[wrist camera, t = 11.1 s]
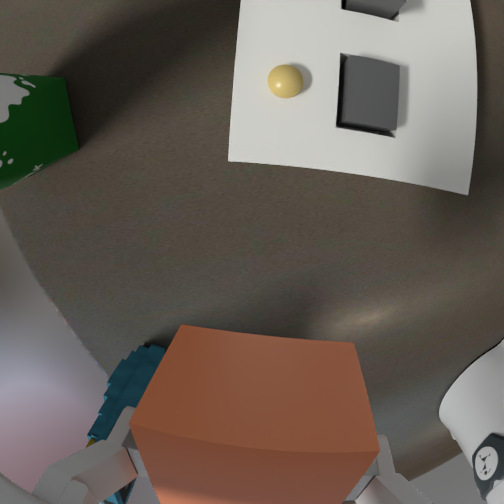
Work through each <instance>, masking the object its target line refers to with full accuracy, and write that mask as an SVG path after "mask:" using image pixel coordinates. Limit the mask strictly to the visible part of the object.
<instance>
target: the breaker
mask: <svg viewBox="0 0 504 504" xmlns="http://www.w3.org/2000/svg"><path fill="white" fill-rule="evenodd" d="M405 3H406V0H342V9H343V10H348V11H354V12H359V13H363V14H368V15H372V16H377V17H381V18H385V19H389V20H390V19H391V17H392V16H393V15H394V14H395V13H396V12H397V11H398V10H399V9H400V8H401V7H402V6H403V5H404V4H405Z"/></svg>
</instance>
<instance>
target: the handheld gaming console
mask: <svg viewBox="0 0 504 504" xmlns="http://www.w3.org/2000/svg"><path fill="white" fill-rule="evenodd" d="M165 353H166V348H164V347H161V346H158V345H155V344H151V346H150V347H149V348H147V347H144V346H141V345H140V346H139V347H138V349H137V351H136V352H134V351H132V352H131V353H130V355H129V356H128V358H127V359H126V360H124V359H122V360H121V362H120V363H119V365H118V366H117V368H116V369H115V371H114V372H113V374H112V375H111V377H110V378H109V380H108V382H107V386H108V389H107V391H106V392H105V394H104V401H105V402H104V404H103V405H102V407H101V409H100V410H99V412H98V414H99V416H98V417H97V419H96V421H95V422H94V424H93V426H92V428H91V429H90V431H89V433H88V435H87V436H88V439H89V442H88V444H87V446H86V447H88V446H90V445H92V444H94V443H96V442H98V441H100V440H107V438H108V436H109V435H110V433H111V431H112V429H113V427H114V426H115V424H116V422H117V420H118V418H119V417H120V415H121V413H122V411H123V409H124V408H126V407H127V406H130V407H134V408H137V406H138V404H139V402H140V400H141V398H142V396H143V394H144V392H145V390H146V389H147V387H148V385H149V383H150V381H151V379H152V377H153V375H154V374H155V372H156V370H157V368H158V366H159V364H160V362H161V360H162V359H163V357H164V355H165ZM136 478H137V477H136ZM136 478H135V479H133V480H132V481H131V482H129V483H128V484H126V485H125V486H124V487H122V488H121V489H119V490H118V491H117V492H115V493H114V494H112V495H111V496H109V497H108V498H106V499H105V500H103V501H102V502H100V503H102V504H126V503H127V501H128V498H129V496H130V493H131V491H132V488H133V486H134V483H135V480H136Z"/></svg>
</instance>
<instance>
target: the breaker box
mask: <svg viewBox="0 0 504 504" xmlns="http://www.w3.org/2000/svg"><path fill="white" fill-rule="evenodd" d="M350 55H354V56H359V57H364V58H369V59H373V60H378V61H382V62H387V63H391V64H395V65H399V66H400V78H399V101H398V117H397V130H391V131H376V132H374V131H369V130H363V129H357V128H351V127H345V126H338V125H336V116H337V102H338V86H339V68H340V67H341V66H342V64H343V63H344V62H345V61H346V59H347V58H348V57H349V56H350ZM476 117H477V61H476V45H475V34H474V25H473V17H472V9H471V3H470V0H406V3H405V4H404V5H403V6H402V7H401V8H400V9H399V10H398V11H397V12H396V13H395V14H394V15H393V16H392V17H391V19H390V20H389V19H385V18H381V17H377V16H372V15H368V14H363V13H359V12H354V11H348V10H343V9H342V0H241V4H240V14H239V24H238V35H237V46H236V58H235V70H234V82H233V95H232V109H231V123H230V138H229V154H228V161H237V162H251V163H264V164H276V165H286V166H296V167H305V168H314V169H322V170H330V171H338V172H345V173H352V174H359V175H366V176H372V177H378V178H385V179H390V180H396V181H402V182H407V183H412V184H418V185H423V186H428V187H433V188H437V189H442V190H447V191H451V192H456V193H460V194H464V195H468V192H469V185H470V179H471V172H472V164H473V155H474V145H475V133H476Z"/></svg>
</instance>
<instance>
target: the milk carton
mask: <svg viewBox="0 0 504 504" xmlns="http://www.w3.org/2000/svg"><path fill="white" fill-rule="evenodd" d="M77 150H79V145H78V140H77V136H76V132H75V127H74V123H73V118H72V113H71V108H70V103H69V98H68V92H67V86H66V80H65V78H61V77H50V76H37V75H18V74H6V73H0V189H3V188H6V187H9V186H11V185H14V184H16V183H18V182H20V181H21V180H23V179H25V178H27V177H29V176H31V175H33V174H35V173H36V172H38V171H40V170H42V169H43V168H45V167H47V166H49V165H51V164H52V163H54V162H56V161H58V160H60V159H62V158H64V157H65V156H67V155H69V154H71V153H73V152H75V151H77Z"/></svg>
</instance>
